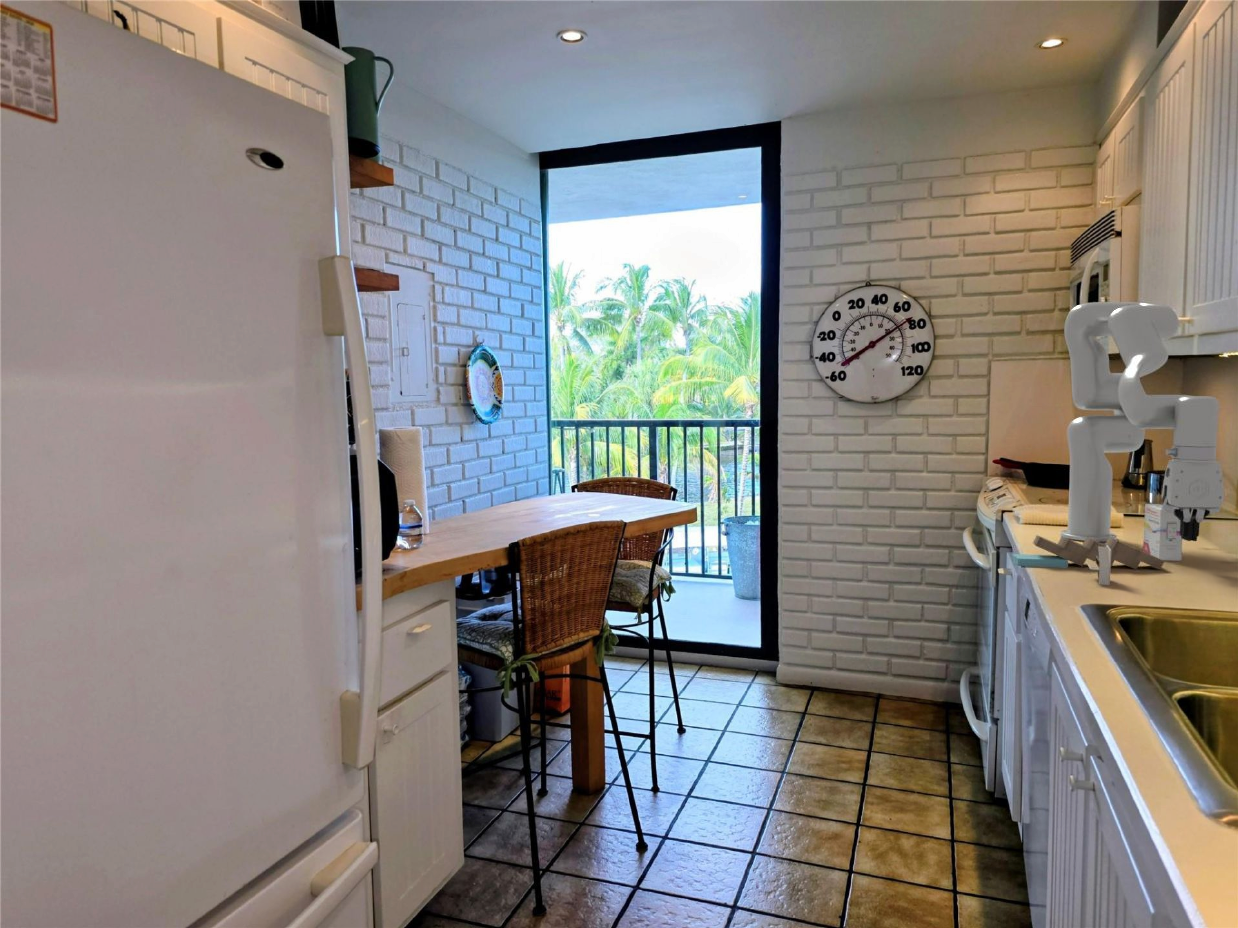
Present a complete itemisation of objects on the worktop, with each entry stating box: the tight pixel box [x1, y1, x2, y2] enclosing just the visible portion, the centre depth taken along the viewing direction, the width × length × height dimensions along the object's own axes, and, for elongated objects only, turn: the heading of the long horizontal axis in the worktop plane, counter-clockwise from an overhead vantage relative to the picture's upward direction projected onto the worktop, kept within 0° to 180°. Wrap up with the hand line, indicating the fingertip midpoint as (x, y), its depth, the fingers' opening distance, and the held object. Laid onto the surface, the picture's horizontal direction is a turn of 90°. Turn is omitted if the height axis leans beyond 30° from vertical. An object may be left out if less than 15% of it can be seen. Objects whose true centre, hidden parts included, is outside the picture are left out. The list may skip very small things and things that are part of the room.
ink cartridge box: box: [1142, 503, 1183, 562], centre depth 184 cm, size 9×5×15 cm, turn 168°
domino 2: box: [1032, 535, 1087, 567], centre depth 178 cm, size 5×2×10 cm
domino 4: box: [1081, 537, 1142, 570], centre depth 175 cm, size 5×2×10 cm
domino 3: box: [1057, 536, 1116, 567], centre depth 176 cm, size 5×2×10 cm
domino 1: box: [1011, 553, 1069, 569], centre depth 178 cm, size 5×2×10 cm
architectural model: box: [1086, 545, 1112, 586], centre depth 162 cm, size 3×7×7 cm, turn 156°
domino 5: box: [1104, 537, 1166, 570], centre depth 174 cm, size 5×2×10 cm
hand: (1188, 539), depth 172 cm, fingers closed
